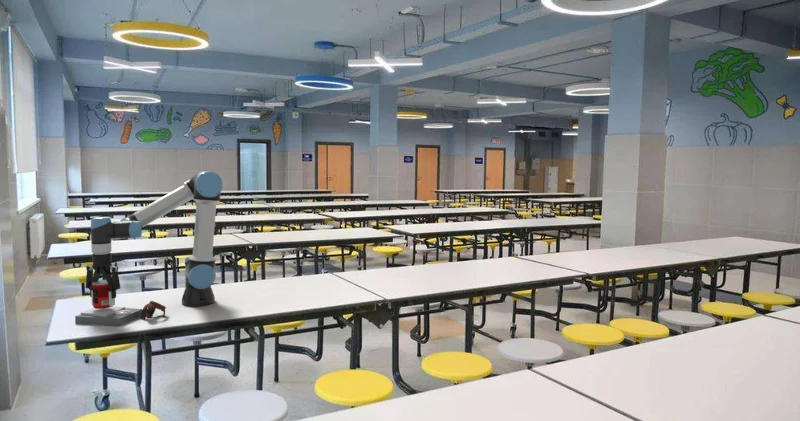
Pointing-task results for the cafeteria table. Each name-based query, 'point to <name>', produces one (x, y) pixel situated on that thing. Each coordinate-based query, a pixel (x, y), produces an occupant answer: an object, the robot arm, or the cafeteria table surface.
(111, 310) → the dial scale
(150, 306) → the brown arched piece
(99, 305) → the canned food
